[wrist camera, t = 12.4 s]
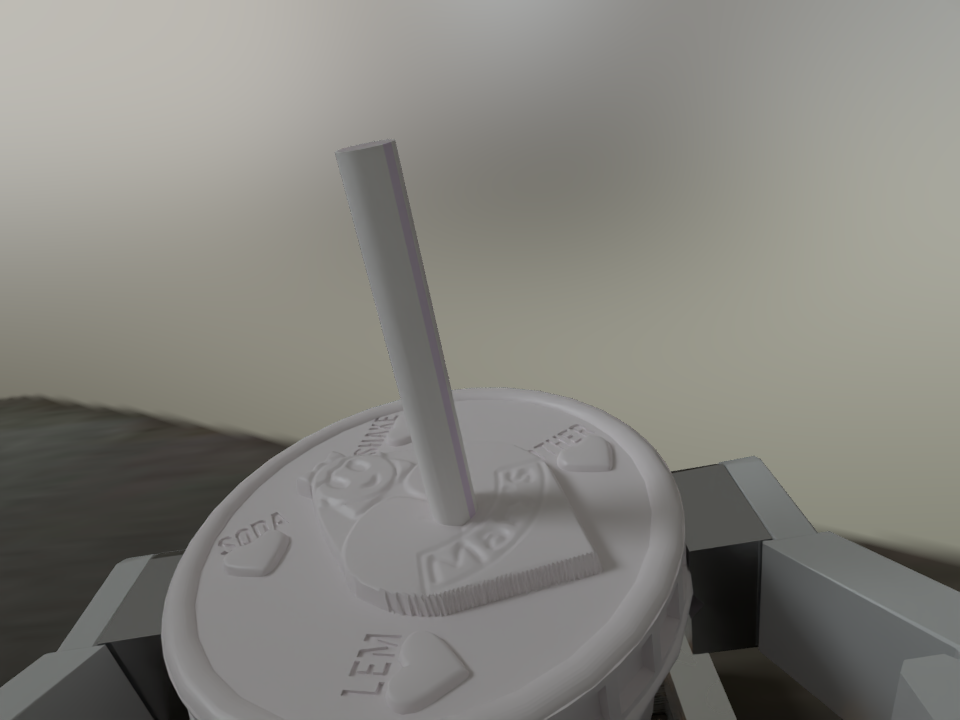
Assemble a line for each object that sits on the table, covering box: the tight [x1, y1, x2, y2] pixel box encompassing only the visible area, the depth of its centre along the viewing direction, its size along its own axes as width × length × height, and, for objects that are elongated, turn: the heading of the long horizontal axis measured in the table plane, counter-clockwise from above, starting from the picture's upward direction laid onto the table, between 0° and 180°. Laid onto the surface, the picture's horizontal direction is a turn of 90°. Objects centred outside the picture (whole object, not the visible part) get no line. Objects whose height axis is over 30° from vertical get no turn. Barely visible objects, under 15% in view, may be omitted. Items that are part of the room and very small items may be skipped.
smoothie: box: [161, 139, 693, 720], centre depth 9 cm, size 6×6×14 cm
